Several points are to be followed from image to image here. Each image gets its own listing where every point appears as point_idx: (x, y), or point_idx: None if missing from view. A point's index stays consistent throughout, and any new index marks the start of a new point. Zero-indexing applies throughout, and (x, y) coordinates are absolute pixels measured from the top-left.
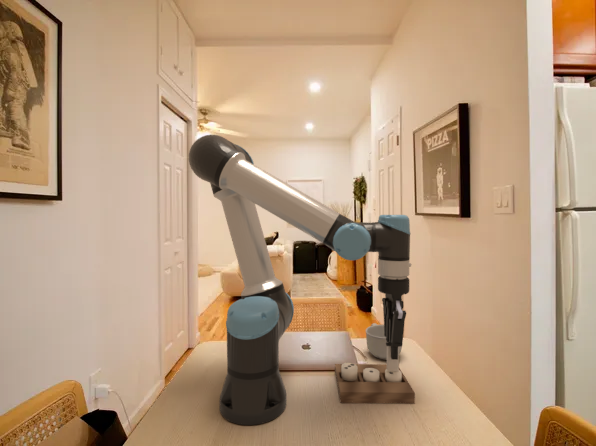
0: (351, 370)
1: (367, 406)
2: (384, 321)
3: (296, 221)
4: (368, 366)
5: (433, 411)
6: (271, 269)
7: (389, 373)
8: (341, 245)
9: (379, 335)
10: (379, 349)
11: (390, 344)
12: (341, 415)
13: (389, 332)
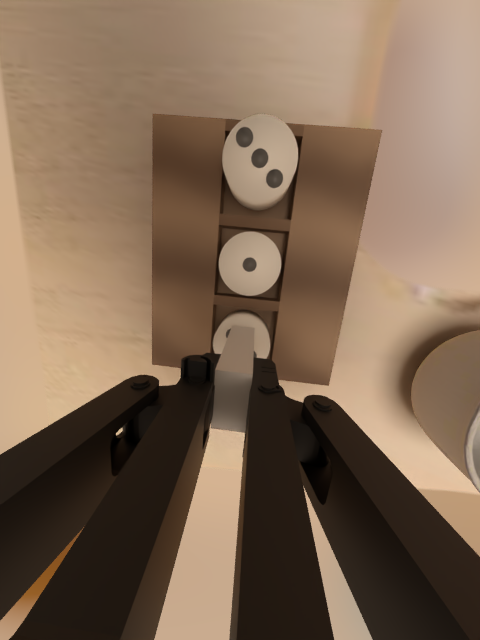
0: (222, 161)
1: (150, 221)
2: (398, 502)
3: None
4: (331, 278)
5: None
6: None
7: (230, 327)
8: None
9: None
10: (446, 364)
11: (180, 380)
12: (106, 126)
13: (176, 432)
